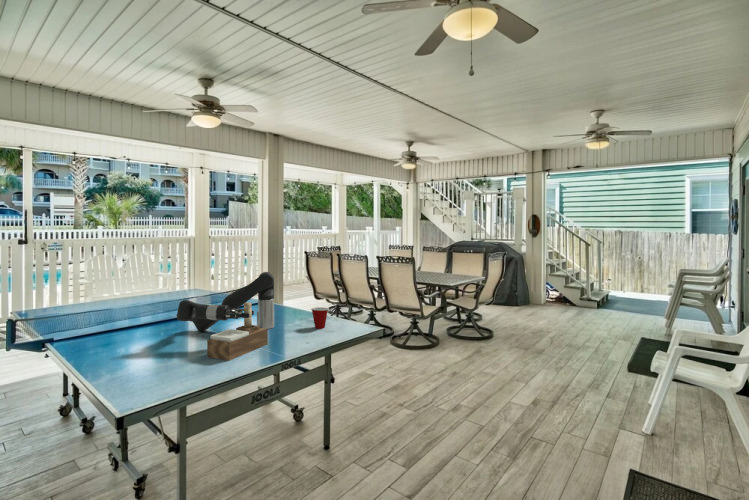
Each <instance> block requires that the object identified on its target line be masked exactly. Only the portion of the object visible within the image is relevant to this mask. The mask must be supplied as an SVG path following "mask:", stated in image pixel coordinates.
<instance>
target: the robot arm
mask: <svg viewBox="0 0 749 500" xmlns="http://www.w3.org/2000/svg"><path fill="white" fill-rule="evenodd" d="M256 295H257V310H258V311H256V325H257V326H260V328H265V329H273V328H275V279H274V275H273V273H271V272H269V271H263V272H262V273H260V274H259V275H258V277H257V278H255V279H254V280H253V281H252V282H249V284H247V285H245V286H243V287H241V288H238V289H236V290H235V291H232V292H231V293H230V294H228V295H226V296H225V297H224V299H223V300H222V302H221V304H202V303H201V304H200V303H197V302H194V301H191V300H188V299H182V300H180V301H179V304H178V308H177V311H176V319H177V320H178V321H179V322H192V323H193V325H194V326H195V328H196V330H197V331H198V332H199V333H200V332H201V333H202V332H204V331H207V330H208V329H210V328H211V327H213V326H214V325H215V324H217V323H218V322H219V321H228V320H231V319H232V320H239V319H241V318H243V319H244V318H249V313H244V308H240V307H241V306H244V303H248V302H249V301H250V300H251V299H253V298H254V297H255V296H256ZM254 314H255V312H254V310H252V316H254Z"/></svg>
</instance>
